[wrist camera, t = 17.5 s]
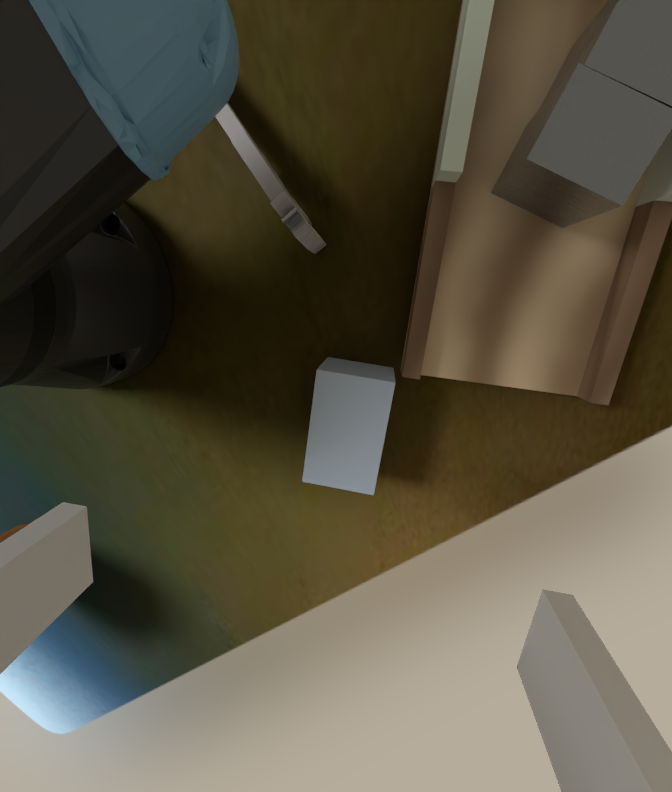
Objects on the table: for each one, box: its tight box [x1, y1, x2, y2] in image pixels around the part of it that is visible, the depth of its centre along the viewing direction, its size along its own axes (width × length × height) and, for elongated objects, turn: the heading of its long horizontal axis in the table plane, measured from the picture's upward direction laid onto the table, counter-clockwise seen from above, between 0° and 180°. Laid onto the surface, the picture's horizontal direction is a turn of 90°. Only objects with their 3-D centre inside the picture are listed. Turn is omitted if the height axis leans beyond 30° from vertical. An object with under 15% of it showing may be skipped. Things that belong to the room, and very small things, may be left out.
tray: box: [432, 0, 672, 207], centre depth 19 cm, size 13×12×4 cm
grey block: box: [302, 357, 396, 495], centre depth 26 cm, size 5×5×8 cm
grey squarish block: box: [491, 63, 672, 228], centre depth 19 cm, size 5×4×6 cm
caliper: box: [215, 102, 326, 254], centre depth 22 cm, size 20×1×6 cm, turn 36°
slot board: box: [401, 0, 672, 405], centre depth 22 cm, size 13×24×2 cm, turn 173°
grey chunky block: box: [540, 0, 672, 108], centre depth 18 cm, size 5×4×6 cm
